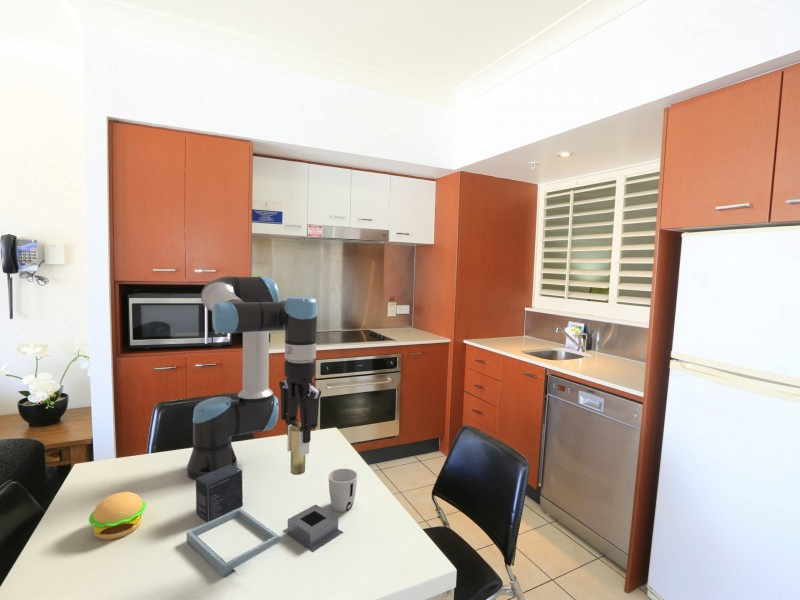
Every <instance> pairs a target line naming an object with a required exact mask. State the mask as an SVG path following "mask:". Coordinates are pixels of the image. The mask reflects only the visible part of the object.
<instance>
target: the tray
mask: <svg viewBox="0 0 800 600" xmlns="http://www.w3.org/2000/svg"><path fill="white" fill-rule="evenodd" d="M238 517H239V518H241V519H243V520H244V521H245V522H246V523H248V524H249V525H250V526H252V527H253V528H255V529H256V530H257V531H258V532H260V533H261V534H263V535H264V536H265V537H266V538H268V539H267V540H265V541H263V542H262V543H259V544H258V545H256V546H254V547H252V548H250V549H248V550H247V551H245V552H243V553H241V554H240V555H238V556H236V557H234V558H232V559H231V560H229V561H227V562H226V561H225V560H224V559H223V558H222V557H221V556H219V554H217V552H215V551H214V550H213V549H212V548H211V547H209V545H207V543H205V542H204V541H203V540H202V539H201V538H200V537H199V535H200V536H201V535H202V534H204V533H206V532H209V531H210V530H213V529H214V528H217V527H219V526H221V525H223V524H225V523H228V522H229V521H232V520H234V519H236V518H238ZM186 543H187V544H188V545H190V547H192V548H193V549H194V551H195V552H197V553H198V554H199V555H200V557H202V558H203V559H204V560H205V561H206V562H207V563H208V564H209V565H210V566H211V567H212V568H213V569H214V570H215V571H217V572H218V574H220V576H222V577H223V578H227V577H228V576H230V575H231V574H233V573H235V572H236V570H235V568H237V567H238V566H240V565H242V564H243V563H246V562H247V561H249V560H250V559H252V558H254V557H256V556H258V555H260V554H261V553H263V552H265V551H266V550H268V549H270V548H272V547H273V546H276V545H277V544H278V543H280V535H279V534H277V533H275V532H274V531H273V530H272V529H271V528H269V527H267V526H266V525H265V524H264V523H262V522H261V521H259V520H257V519H256V518H255V517H254V516H252V515H250V513H248V512H247V511H245V510H244V509H243V508H241V507H239V508H237V509H235V510H233V511H231V512H229V513H227V514H225V515H223V516H220V517H219V518H216V519H214V520H212V521H210V522H206V523H204V524H201V525H199V526H197V527H195V528H193V529H190V530H187V531H186Z"/></svg>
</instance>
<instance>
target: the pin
mask: <svg viewBox="0 0 800 600" xmlns="http://www.w3.org/2000/svg"><path fill="white" fill-rule="evenodd" d="M299 429H301V421H296V422H295V423H293V424H292V425H291V451H290V469H289V470H290V474H292V475H294V476H298V475H303V474H304V473H305V472H306V457H307V456H306V455H307V454H306V455H303V456H301V457H300V456H298V451H299Z"/></svg>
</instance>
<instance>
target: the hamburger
mask: <svg viewBox="0 0 800 600" xmlns="http://www.w3.org/2000/svg"><path fill="white" fill-rule="evenodd" d="M146 509H147V504H146V502H144V501H143V500H142V498H141V497H140V495H138V494H137V493H134V492H130V491H121V492H116V493H113V494H110V495H108V496H106V497H105V498H103V499H102V500H101V501H100V502H98V504H97V505H96V506H95V508H94V509H93V512H91V513H90V515H89V518H88V522H89V524H90V525H91V526H93V527H94V528H93V534H94V536H95V537H96V538H98V539H99V540H103V541H107V540H115V539H120V538H123V537H125V536H128V535H129V534H131V533H133V532H134V531H135V530H136V529H138V528H139V527H140V525H141V523H142V521H143V517H142V514H143V512H144V511H145V510H146Z"/></svg>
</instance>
